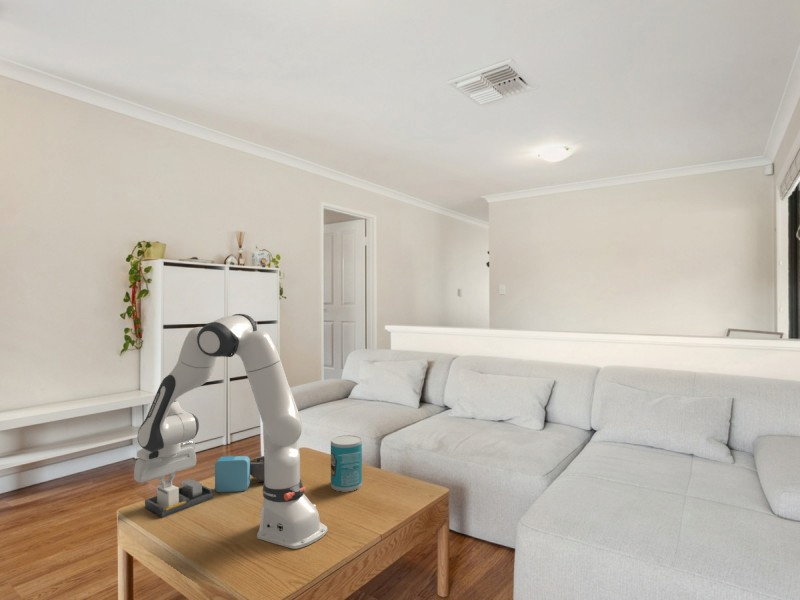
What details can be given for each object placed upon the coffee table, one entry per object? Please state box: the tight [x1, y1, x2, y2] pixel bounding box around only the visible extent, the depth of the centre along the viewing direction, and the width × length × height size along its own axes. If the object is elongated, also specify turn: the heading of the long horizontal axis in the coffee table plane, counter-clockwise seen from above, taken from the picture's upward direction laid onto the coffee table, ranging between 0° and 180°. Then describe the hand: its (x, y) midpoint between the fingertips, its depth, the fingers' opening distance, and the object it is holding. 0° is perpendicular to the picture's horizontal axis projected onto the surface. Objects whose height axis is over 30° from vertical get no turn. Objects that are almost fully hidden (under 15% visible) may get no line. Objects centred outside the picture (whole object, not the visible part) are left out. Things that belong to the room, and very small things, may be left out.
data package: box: [214, 455, 251, 493], centre depth 174 cm, size 12×4×12 cm, turn 96°
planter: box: [250, 455, 265, 483], centre depth 184 cm, size 15×17×20 cm
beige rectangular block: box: [156, 484, 180, 508], centre depth 159 cm, size 8×4×6 cm, turn 54°
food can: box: [330, 434, 363, 493], centre depth 177 cm, size 12×12×18 cm
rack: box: [144, 478, 214, 519], centre depth 163 cm, size 12×18×6 cm, turn 143°
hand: (166, 486), depth 159 cm, fingers closed, pressing on beige rectangular block
